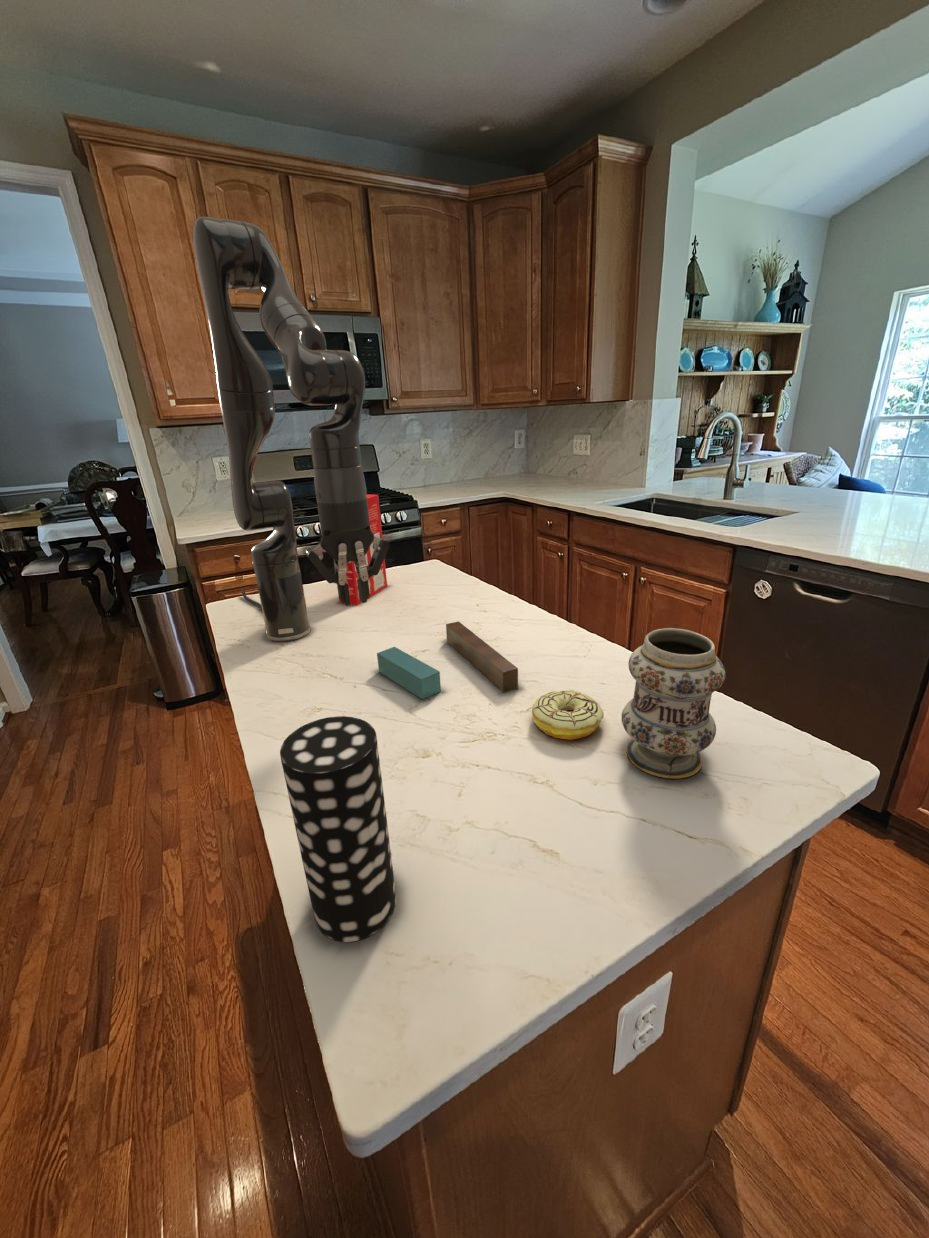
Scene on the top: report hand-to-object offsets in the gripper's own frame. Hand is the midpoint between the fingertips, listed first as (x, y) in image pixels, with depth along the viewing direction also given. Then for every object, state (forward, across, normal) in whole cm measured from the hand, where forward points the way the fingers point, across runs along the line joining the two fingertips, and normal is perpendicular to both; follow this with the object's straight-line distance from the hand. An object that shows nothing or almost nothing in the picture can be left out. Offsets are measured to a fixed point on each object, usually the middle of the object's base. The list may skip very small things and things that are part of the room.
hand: (354, 602), depth 87 cm
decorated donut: (+17, -25, +25) cm, 39 cm away
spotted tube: (+17, +13, +41) cm, 46 cm away
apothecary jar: (+17, -32, +38) cm, 53 cm away
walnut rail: (+17, -22, 0) cm, 28 cm away
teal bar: (+17, -8, 0) cm, 19 cm away
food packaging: (+17, -14, -50) cm, 55 cm away
